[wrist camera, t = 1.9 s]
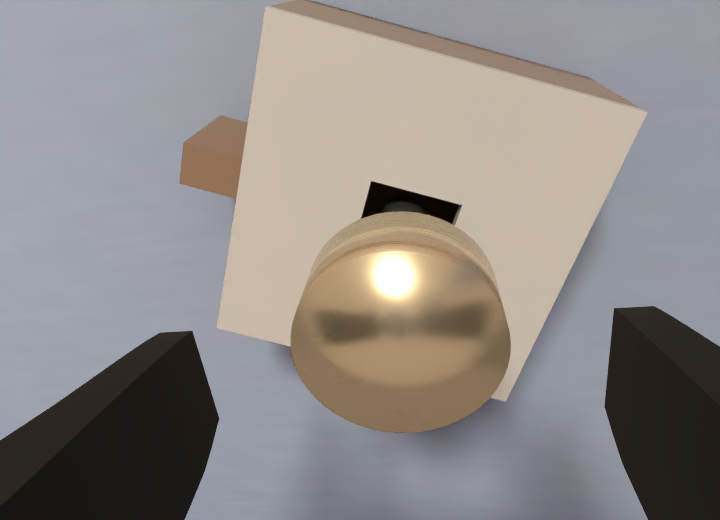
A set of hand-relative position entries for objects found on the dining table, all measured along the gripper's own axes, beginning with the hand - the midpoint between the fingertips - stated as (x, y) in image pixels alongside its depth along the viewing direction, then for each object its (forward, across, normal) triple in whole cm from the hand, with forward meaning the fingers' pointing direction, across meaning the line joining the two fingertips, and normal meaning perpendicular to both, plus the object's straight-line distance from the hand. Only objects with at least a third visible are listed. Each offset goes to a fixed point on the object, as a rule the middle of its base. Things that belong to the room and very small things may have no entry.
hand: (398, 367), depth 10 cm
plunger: (+7, 0, 0) cm, 7 cm away
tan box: (+10, 0, 0) cm, 10 cm away
